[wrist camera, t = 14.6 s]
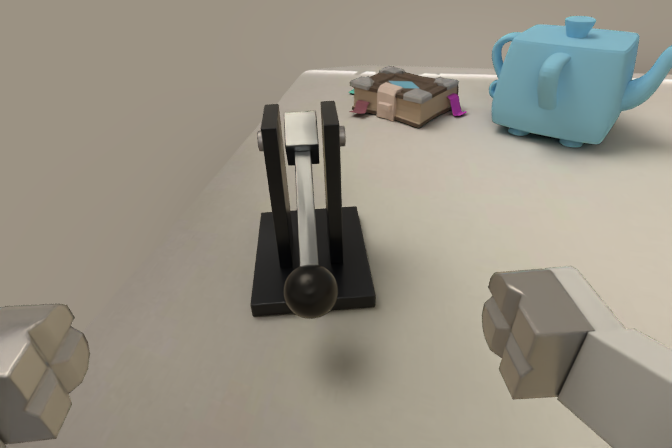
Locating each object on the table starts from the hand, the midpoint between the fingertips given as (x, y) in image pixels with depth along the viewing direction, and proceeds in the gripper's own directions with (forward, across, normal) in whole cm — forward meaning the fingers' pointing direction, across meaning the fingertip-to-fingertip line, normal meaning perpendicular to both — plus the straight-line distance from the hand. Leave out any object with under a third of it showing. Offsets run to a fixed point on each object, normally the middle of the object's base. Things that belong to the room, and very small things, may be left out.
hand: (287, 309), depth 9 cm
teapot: (+44, -34, +17) cm, 58 cm away
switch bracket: (+22, 0, +17) cm, 28 cm away
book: (+56, -13, +18) cm, 60 cm away
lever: (+18, 0, +10) cm, 21 cm away
